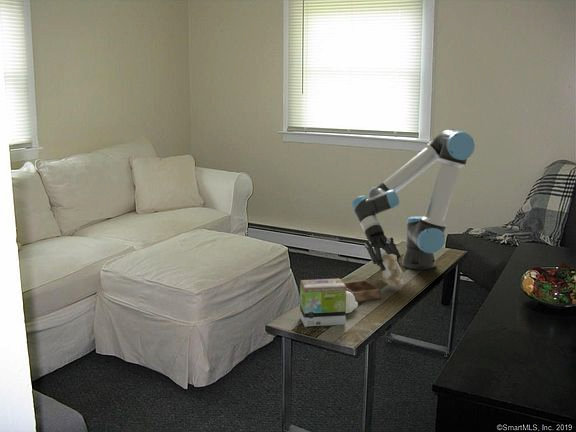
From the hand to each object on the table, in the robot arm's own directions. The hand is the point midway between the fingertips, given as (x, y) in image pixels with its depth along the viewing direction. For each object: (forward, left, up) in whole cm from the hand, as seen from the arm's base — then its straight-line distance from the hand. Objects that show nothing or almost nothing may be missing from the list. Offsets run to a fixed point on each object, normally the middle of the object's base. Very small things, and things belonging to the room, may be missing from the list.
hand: (394, 275), depth 268 cm
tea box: (+41, +20, -7) cm, 46 cm away
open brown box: (+16, 0, -7) cm, 17 cm away
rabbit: (+31, +13, -7) cm, 34 cm away
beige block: (0, -1, -3) cm, 4 cm away
